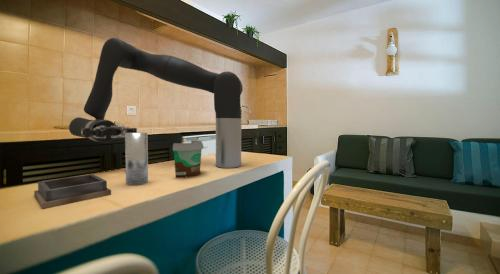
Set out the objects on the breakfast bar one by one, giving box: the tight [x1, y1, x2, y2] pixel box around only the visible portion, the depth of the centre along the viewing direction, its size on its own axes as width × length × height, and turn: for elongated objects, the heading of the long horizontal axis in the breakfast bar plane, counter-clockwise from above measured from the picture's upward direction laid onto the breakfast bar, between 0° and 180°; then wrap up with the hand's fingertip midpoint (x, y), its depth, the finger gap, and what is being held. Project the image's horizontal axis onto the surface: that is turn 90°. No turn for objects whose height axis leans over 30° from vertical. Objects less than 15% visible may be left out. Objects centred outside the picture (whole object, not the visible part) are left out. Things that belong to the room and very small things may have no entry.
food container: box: [172, 139, 205, 179], centre depth 69 cm, size 12×6×10 cm, turn 168°
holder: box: [33, 173, 112, 210], centre depth 50 cm, size 11×11×3 cm
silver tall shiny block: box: [124, 132, 149, 186], centre depth 60 cm, size 5×5×13 cm
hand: (118, 133), depth 67 cm, fingers open, 8 cm apart
